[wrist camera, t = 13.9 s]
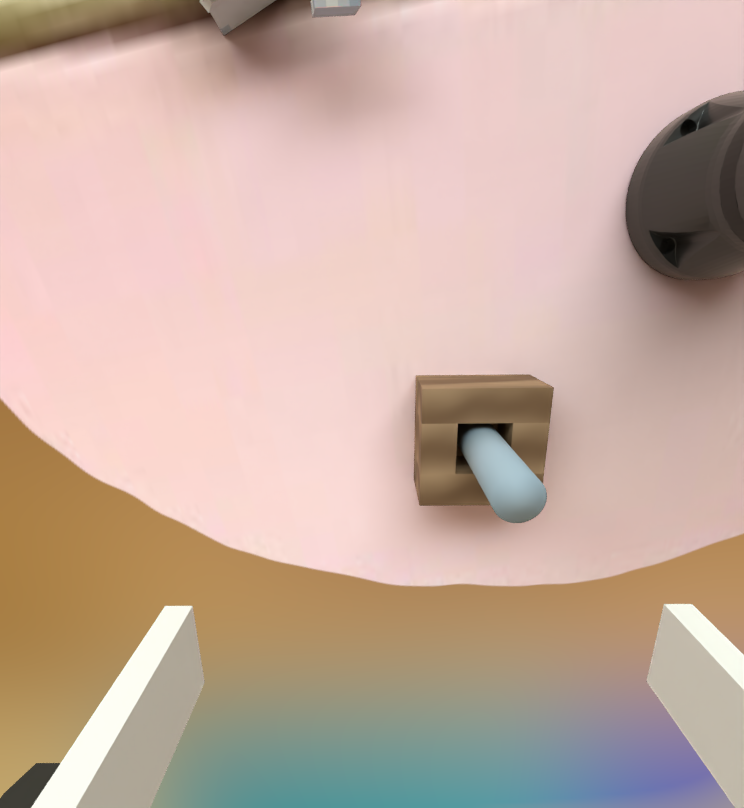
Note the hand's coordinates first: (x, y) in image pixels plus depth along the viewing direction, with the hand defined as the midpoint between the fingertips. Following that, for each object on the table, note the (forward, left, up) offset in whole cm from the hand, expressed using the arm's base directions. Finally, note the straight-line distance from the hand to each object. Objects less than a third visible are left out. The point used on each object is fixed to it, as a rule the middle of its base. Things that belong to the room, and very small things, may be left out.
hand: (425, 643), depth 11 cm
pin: (+5, +9, -31) cm, 33 cm away
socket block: (+5, +9, -33) cm, 34 cm away
